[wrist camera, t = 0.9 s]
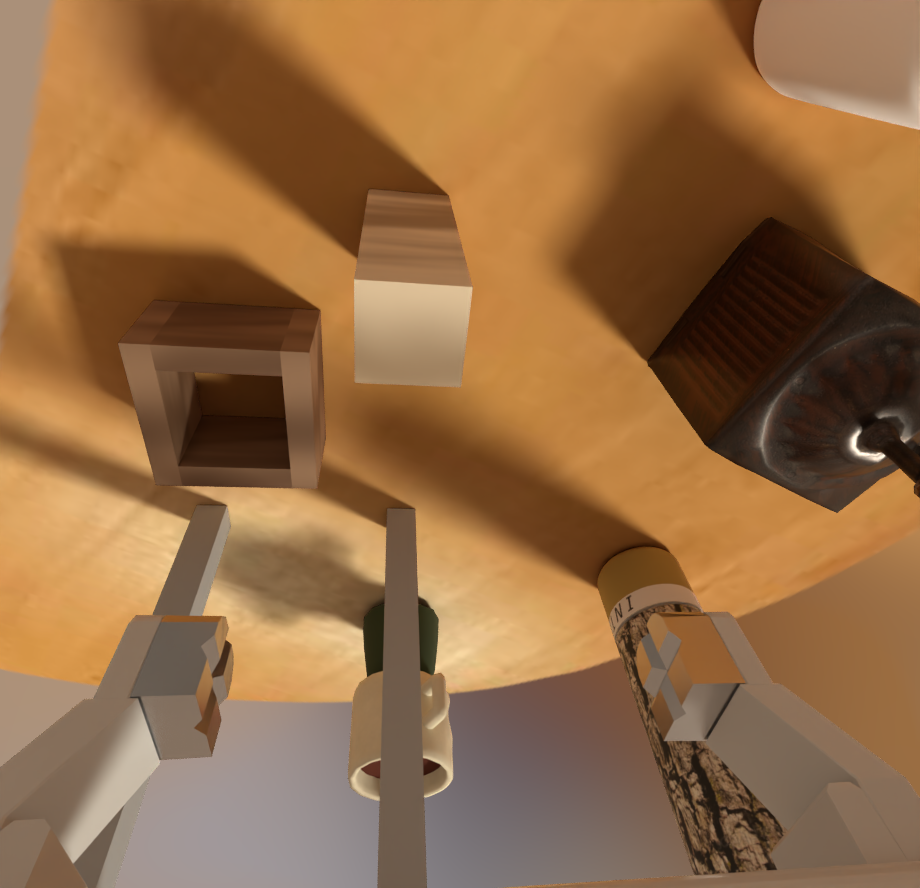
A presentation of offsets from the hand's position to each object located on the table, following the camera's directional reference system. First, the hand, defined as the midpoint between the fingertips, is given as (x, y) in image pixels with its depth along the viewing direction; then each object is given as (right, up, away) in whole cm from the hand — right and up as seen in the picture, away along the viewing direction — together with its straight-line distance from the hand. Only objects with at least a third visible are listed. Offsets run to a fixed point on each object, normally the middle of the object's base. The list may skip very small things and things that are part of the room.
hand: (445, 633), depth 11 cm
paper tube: (+15, -7, +37) cm, 41 cm away
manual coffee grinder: (+20, +12, +24) cm, 33 cm away
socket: (-12, +8, +23) cm, 28 cm away
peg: (-3, +15, +19) cm, 24 cm away
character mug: (-5, -11, +38) cm, 40 cm away
